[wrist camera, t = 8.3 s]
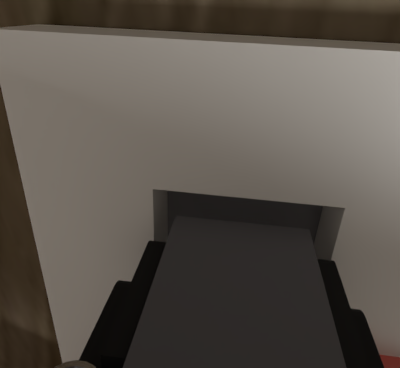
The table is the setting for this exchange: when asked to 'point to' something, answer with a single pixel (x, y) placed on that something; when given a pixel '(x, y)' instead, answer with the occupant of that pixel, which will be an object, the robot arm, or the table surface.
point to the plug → (236, 301)
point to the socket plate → (203, 154)
